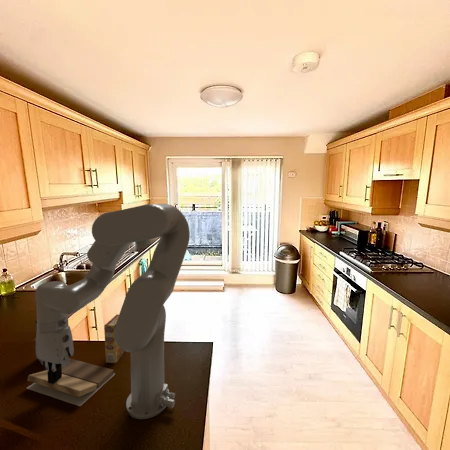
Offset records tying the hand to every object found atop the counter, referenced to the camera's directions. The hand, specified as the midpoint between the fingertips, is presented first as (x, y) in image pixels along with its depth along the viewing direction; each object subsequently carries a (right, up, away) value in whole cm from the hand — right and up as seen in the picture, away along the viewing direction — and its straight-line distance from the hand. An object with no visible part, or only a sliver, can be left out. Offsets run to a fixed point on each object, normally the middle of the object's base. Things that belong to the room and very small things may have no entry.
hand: (55, 380), depth 74 cm
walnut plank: (+3, -3, +9) cm, 10 cm away
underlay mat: (+2, -5, +6) cm, 7 cm away
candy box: (+10, -4, +19) cm, 22 cm away
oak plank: (+1, -3, +2) cm, 3 cm away
